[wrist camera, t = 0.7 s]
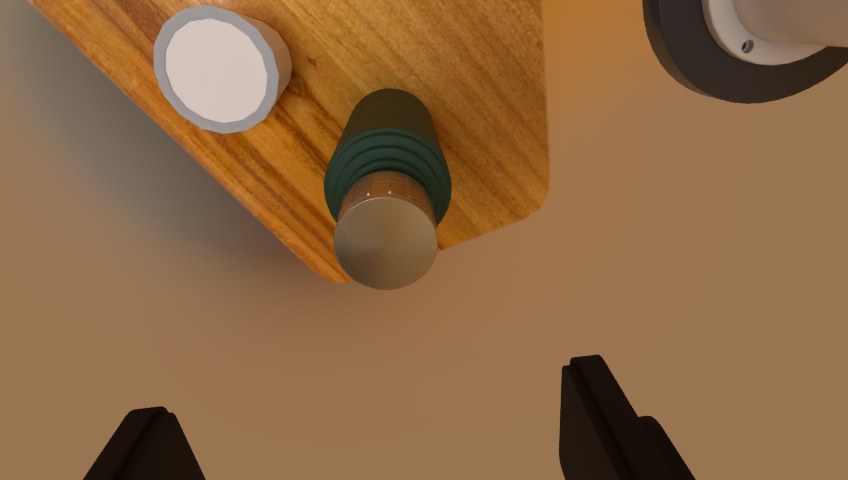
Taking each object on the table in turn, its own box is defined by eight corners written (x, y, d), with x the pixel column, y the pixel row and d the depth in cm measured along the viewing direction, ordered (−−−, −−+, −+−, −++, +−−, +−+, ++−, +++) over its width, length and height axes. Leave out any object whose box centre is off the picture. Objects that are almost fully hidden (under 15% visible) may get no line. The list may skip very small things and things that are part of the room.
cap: (427, 164, 20) (433, 190, 17) (436, 248, 22) (442, 284, 19) (333, 175, 20) (323, 203, 17) (350, 258, 22) (342, 296, 19)
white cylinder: (179, 58, 32) (125, 68, 26) (243, -18, 30) (202, -27, 24) (258, 131, 34) (227, 157, 28) (321, 65, 33) (303, 77, 26)
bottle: (428, 83, 33) (461, 151, 17) (436, 168, 36) (472, 299, 20) (341, 93, 33) (285, 172, 17) (356, 177, 36) (321, 317, 19)
